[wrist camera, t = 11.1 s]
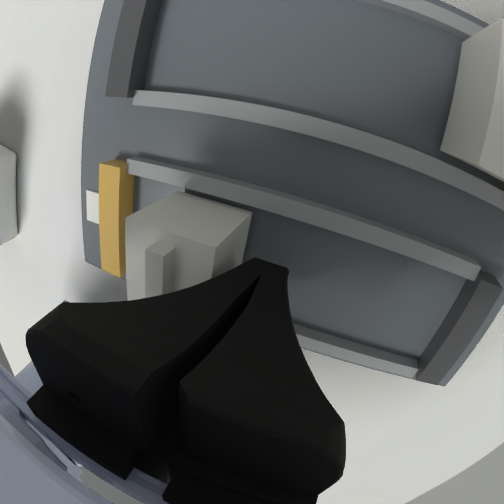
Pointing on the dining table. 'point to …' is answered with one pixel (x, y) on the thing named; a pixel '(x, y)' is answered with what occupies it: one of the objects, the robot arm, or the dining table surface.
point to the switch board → (307, 162)
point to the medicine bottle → (7, 195)
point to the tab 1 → (182, 243)
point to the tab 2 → (479, 103)
